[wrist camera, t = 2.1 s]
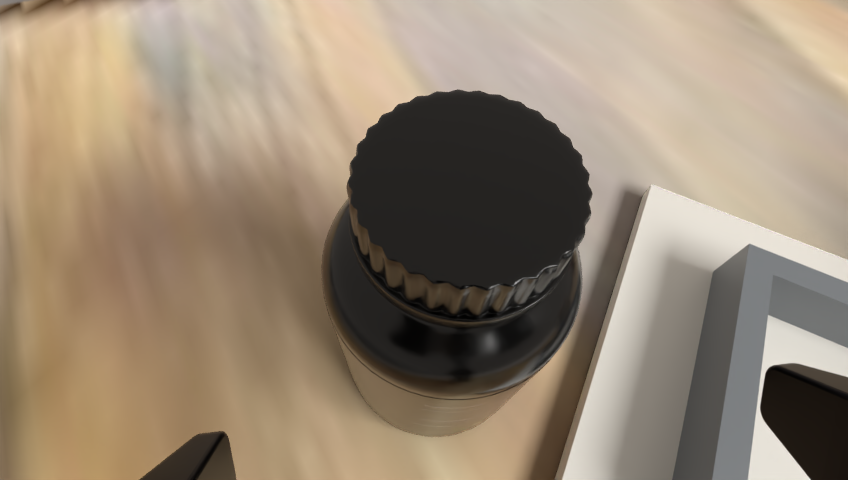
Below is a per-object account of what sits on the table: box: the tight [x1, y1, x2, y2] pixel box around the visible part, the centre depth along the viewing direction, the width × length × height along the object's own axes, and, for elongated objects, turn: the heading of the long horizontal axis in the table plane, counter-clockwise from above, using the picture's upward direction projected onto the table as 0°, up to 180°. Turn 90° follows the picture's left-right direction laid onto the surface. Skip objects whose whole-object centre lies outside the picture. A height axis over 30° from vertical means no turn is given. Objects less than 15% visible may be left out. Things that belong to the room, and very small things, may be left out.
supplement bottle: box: [321, 90, 592, 437], centre depth 14 cm, size 7×7×12 cm
